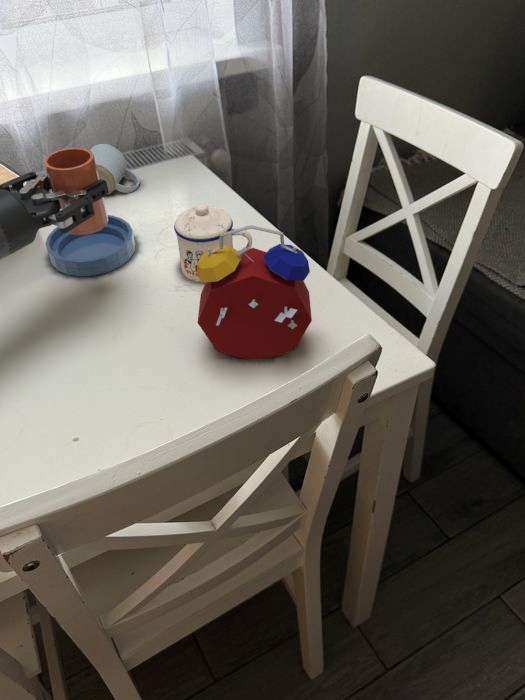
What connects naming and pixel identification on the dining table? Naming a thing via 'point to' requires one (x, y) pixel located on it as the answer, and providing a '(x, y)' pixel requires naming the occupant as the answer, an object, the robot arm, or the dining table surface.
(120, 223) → the bowl
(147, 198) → the dining table surface
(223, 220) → the teacup with lid
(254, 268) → the alarm clock
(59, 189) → the cup
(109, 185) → the ceramic mug
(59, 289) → the dining table surface
